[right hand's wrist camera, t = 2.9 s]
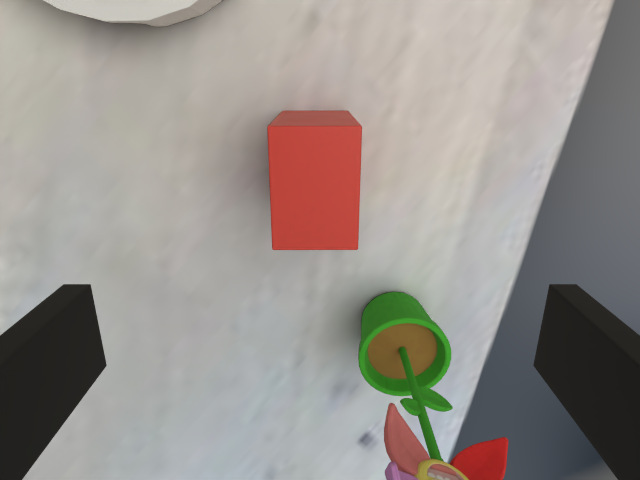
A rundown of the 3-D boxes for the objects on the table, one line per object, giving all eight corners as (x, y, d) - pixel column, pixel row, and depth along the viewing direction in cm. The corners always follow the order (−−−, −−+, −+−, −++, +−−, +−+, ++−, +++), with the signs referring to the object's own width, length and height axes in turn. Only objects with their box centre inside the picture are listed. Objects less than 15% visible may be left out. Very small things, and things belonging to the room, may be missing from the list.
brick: (284, 201, 40) (272, 250, 29) (282, 110, 37) (267, 125, 26) (346, 201, 40) (358, 250, 29) (348, 110, 37) (362, 125, 26)
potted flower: (451, 300, 43) (612, 572, 20) (415, 363, 45) (519, 671, 22) (362, 267, 42) (420, 515, 18) (330, 334, 44) (345, 627, 21)
